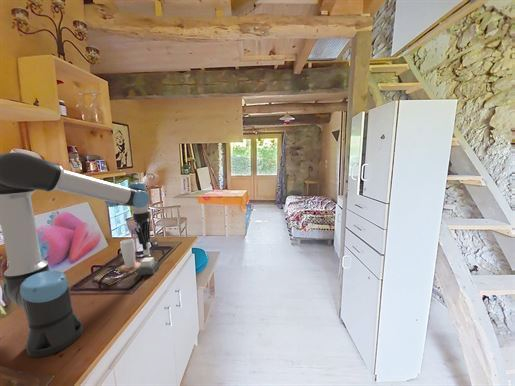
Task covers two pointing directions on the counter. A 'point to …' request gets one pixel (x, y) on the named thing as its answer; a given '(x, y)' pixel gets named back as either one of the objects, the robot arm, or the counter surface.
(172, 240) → the counter surface
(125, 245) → the drinking glass
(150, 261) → the button
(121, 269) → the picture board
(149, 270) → the button housing
